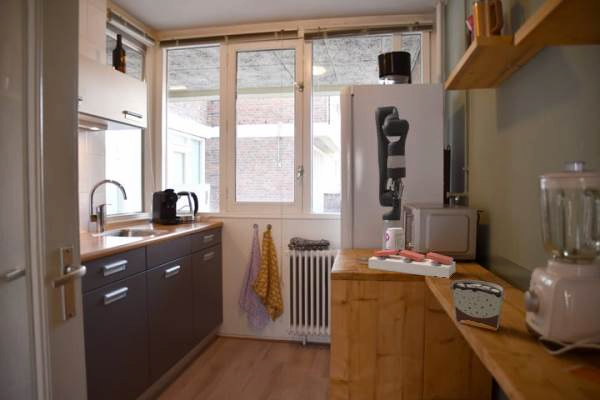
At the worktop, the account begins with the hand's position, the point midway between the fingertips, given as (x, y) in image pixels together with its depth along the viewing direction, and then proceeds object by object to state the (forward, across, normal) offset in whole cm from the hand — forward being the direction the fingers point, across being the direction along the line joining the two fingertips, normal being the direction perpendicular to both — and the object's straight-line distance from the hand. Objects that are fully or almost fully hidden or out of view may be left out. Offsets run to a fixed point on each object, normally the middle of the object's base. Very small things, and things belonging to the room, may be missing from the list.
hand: (397, 207), depth 148 cm
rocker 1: (+20, +2, -4) cm, 20 cm away
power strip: (+26, +4, +3) cm, 26 cm away
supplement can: (+26, -13, -5) cm, 29 cm away
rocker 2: (+20, +2, +18) cm, 27 cm away
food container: (+25, +52, +36) cm, 68 cm away
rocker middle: (+20, +2, +7) cm, 21 cm away
